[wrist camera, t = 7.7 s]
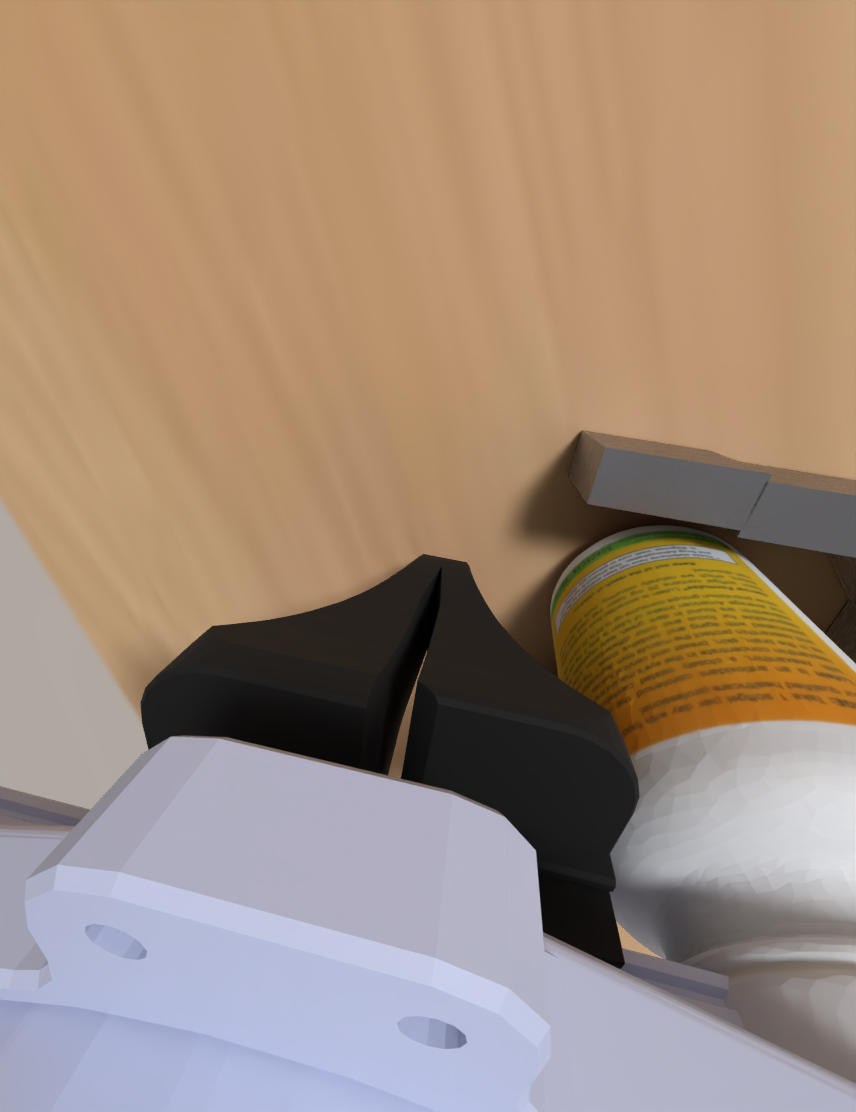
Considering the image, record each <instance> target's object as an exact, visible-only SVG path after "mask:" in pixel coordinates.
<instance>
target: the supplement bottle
mask: <svg viewBox="0 0 856 1112" xmlns="http://www.w3.org/2000/svg"><path fill="white" fill-rule="evenodd" d="M550 618H551V629H552V636H553V644H554V650H555V657H556V664H557V671H558V678H559V679H560V680H562V681H563V682H564V683H566V684H567V685H569V686H570V687H572V688H573V689H575V690H576V691H578V692H580V693H581V694H583V695H584V696H586V697H588V698H589V699H591V700H593V701H594V702H596V703H597V704H599V705H601V706H602V707H604V708H606V709H607V710H609V711H610V712H611V713H612V715H613V718H614V720H615V722H616V724H617V726H618V728H619V731H620V733H621V735H622V737H623V739H624V742H625V744H626V747H627V749H628V752H629V754H630V757H631V760H632V763H633V766H634V769H635V772H636V775H637V778H638V784H639V800H638V803H637V806H636V808H635V811H634V814H633V816H632V817H631V819H630V821H629V822H628V824H627V826H626V827H625V829H624V831H623V833H622V834H621V836H620V838H619V839H618V841H617V843H616V844H615V846H614V848H613V849H612V851H611V853H610V856H611V861H612V865H613V869H614V873H615V877H616V887H615V889H614V891H613V892H610V896H611V901H612V905H613V910H614V914H615V919H616V921H617V922H618V923H619V924H620V925H621V926H622V927H623V928H624V929H625V930H626V931H627V932H628V933H629V934H630V935H631V936H632V937H634V938H635V939H636V940H637V941H638V942H639V943H641V944H642V945H644V946H645V947H646V948H648V949H649V950H651V951H652V952H654V953H655V954H657V955H659V956H660V957H662V958H664V959H665V960H669V961H673V962H677V963H681V964H684V965H688V966H692V967H696V968H700V969H704V970H707V971H711V972H715V973H719V974H723V975H727V976H728V977H729V982H728V987H729V991H728V993H727V994H726V996H725V998H724V1002H725V1005H726V1007H728V1008H731V1009H734V1010H737V1011H738V1013H739V1016H740V1018H741V1020H742V1023H743V1025H744V1028H745V1030H746V1031H748V1032H751V1033H753V1034H755V1035H757V1036H759V1037H761V1038H763V1039H765V1040H767V1041H769V1042H771V1043H773V1044H775V1045H777V1046H779V1047H782V1048H784V1049H786V1050H788V1051H790V1052H792V1053H794V1054H796V1055H798V1056H800V1057H802V1058H804V1059H806V1060H808V1061H810V1062H812V1063H815V1064H817V1065H819V1066H821V1067H823V1068H825V1069H827V1070H829V1071H831V1072H833V1073H835V1074H837V1075H839V1076H841V1077H843V1078H846V1079H848V1080H850V1081H852V1082H854V1083H856V663H855V662H853V661H852V660H851V659H850V658H849V657H848V656H847V655H846V654H845V653H844V652H843V651H842V650H841V649H840V648H839V647H838V646H837V645H836V644H835V643H834V642H833V641H832V640H831V639H830V638H829V637H828V636H826V635H825V634H824V633H823V632H822V631H821V630H820V629H819V628H818V627H817V626H816V625H815V624H814V623H813V622H812V621H811V620H810V619H809V618H808V617H807V616H806V615H805V614H804V613H803V612H802V611H801V610H800V609H799V608H798V607H797V606H795V605H794V604H793V603H792V602H791V601H790V600H789V599H788V598H787V597H786V596H785V595H784V594H783V593H782V592H781V591H780V590H779V589H778V588H777V587H776V586H775V585H774V584H773V583H772V582H771V581H770V580H769V579H768V578H767V577H766V576H765V575H764V574H762V573H761V572H760V571H759V570H758V569H757V568H756V567H755V566H754V565H753V564H752V563H751V562H750V561H749V560H748V559H747V558H746V557H745V556H743V555H742V554H741V553H740V552H739V551H738V550H736V549H735V548H734V547H733V546H731V545H730V544H728V543H727V542H725V541H724V540H722V539H720V538H718V537H716V536H714V535H712V534H709V533H706V532H703V531H700V530H697V529H693V528H687V527H681V526H670V525H655V526H644V527H637V528H633V529H628V530H625V531H622V532H618V533H616V534H613V535H611V536H608V537H606V538H604V539H602V540H600V541H599V542H597V543H595V544H594V545H592V546H591V547H589V548H588V549H586V550H585V551H583V552H582V553H581V554H580V555H578V556H577V557H576V558H575V559H574V560H573V561H572V562H571V563H570V564H569V566H568V567H567V568H566V569H565V571H564V572H563V573H562V575H561V577H560V579H559V581H558V582H557V585H556V587H555V589H554V592H553V596H552V600H551V606H550Z"/></svg>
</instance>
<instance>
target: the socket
mask: <svg viewBox="0 0 856 1112" xmlns="http://www.w3.org/2000/svg"><path fill="white" fill-rule="evenodd" d="M568 477H569V478H570V480H571V481H572V483H573V484H574V485H575V487H576V488H577V490H578V491H579V493H580V494H581V496H582V497H583V499H584V500H585V502H586V503H587V504H590V505H596V506H602V507H607V508H613V509H619V510H625V511H631V512H636V513H642V514H648V515H654V516H660V517H665V518H671V519H677V520H683V521H689V522H694V523H700V524H706V525H712V526H718V527H723V528H725V529H726V530H728V531H729V532H731V533H732V534H734V535H735V536H737V537H740V538H745V539H751V540H757V541H763V542H768V543H774V544H780V545H786V546H791V547H797V548H803V549H809V550H814V551H820V552H826V553H828V555H829V557H830V560H831V562H832V564H833V566H834V568H835V570H836V573H837V575H838V577H839V579H840V581H841V584H842V586H843V588H844V590H845V592H846V594H847V597H848V599H849V601H848V602H847V604H846V605H845V606H844V608H843V609H842V611H841V612H840V614H839V615H838V616H837V618H836V619H835V621H834V622H833V624H832V625H831V626H830V628H829V629H828V631H827V632H826V634H825V635H826V636H828V637H829V638H830V639H831V640H832V641H833V642H834V643H835V644H836V645H837V646H838V647H839V648H840V649H841V650H842V651H843V652H844V653H845V654H846V655H847V656H848V657H849V658H850V659H851V660H852V661H853V662H855V663H856V480H849V479H843V478H837V477H831V476H824V475H818V474H812V473H805V472H799V471H793V470H787V469H780V468H774V467H768V466H762V465H755V464H749V463H743V462H739V461H736V460H734V459H731V458H728V457H726V456H723V455H720V454H718V453H715V452H712V451H708V450H701V449H695V448H689V447H683V446H676V445H670V444H664V443H657V442H651V441H645V440H638V439H632V438H626V437H619V436H613V435H607V434H601V433H594V432H588V431H582V430H581V434H580V437H579V441H578V444H577V448H576V451H575V455H574V458H573V461H572V465H571V468H570V472H569V475H568Z"/></svg>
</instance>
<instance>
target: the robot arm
mask: <svg viewBox="0 0 856 1112" xmlns="http://www.w3.org/2000/svg"><path fill="white" fill-rule="evenodd" d="M427 648H428V649H427ZM426 651H427V655H426V658H425V661H424V664H423V667H422V670H421V673H420V676H419V678H418V681H417V687H416V693H415V699H414V705H413V711H412V717H411V723H410V729H409V735H408V741H407V747H406V753H405V759H404V765H403V771H402V777H401V779H400V778H396V777H391V776H388V773H389V768H390V764H391V760H392V756H393V752H394V748H395V744H396V740H397V736H398V732H399V728H400V725H401V722H402V719H403V715H404V712H405V709H406V707H407V704H408V701H409V698H410V695H411V693H412V690H413V687H414V684H415V682H416V679H417V676H418V673H419V671H420V668H421V665H422V662H423V659H424V657H425V654H426ZM141 714H142V724H143V728H144V732H145V737H146V740H147V745H148V749H149V750H148V751H146V752H144V753H143V754H141V756H140V757H139V758H138V759H137V760H136V761H135V762H134V763H133V764H132V765H131V766H130V767H129V769H128V770H127V771H126V772H125V773H124V774H123V775H122V776H121V777H120V778H119V779H118V780H117V782H116V783H115V784H114V785H113V786H112V787H111V788H110V789H109V790H108V791H107V792H106V794H105V795H104V796H103V797H102V798H101V799H100V800H99V801H98V802H97V803H96V804H95V805H94V806H93V808H92V809H91V810H89V809H85V808H82V807H78V806H74V805H70V804H66V803H62V802H59V801H55V800H51V799H47V798H43V797H39V796H35V795H31V794H28V793H24V792H20V791H16V790H12V789H9V788H5V787H1V786H0V1112H856V1083H854V1082H852V1081H850V1080H848V1079H846V1078H843V1077H841V1076H839V1075H837V1074H835V1073H833V1072H831V1071H829V1070H827V1069H825V1068H823V1067H821V1066H819V1065H817V1064H815V1063H812V1062H810V1061H808V1060H806V1059H804V1058H802V1057H800V1056H798V1055H796V1054H794V1053H792V1052H790V1051H788V1050H786V1049H784V1048H782V1047H779V1046H777V1045H775V1044H773V1043H771V1042H769V1041H767V1040H765V1039H763V1038H761V1037H759V1036H757V1035H755V1034H753V1033H751V1032H748V1031H746V1030H745V1028H744V1025H743V1023H742V1020H741V1018H740V1016H739V1013H738V1011H737V1010H734V1009H731V1008H728V1007H726V1005H725V1002H724V998H725V996H726V994H727V993H728V991H729V987H728V982H729V977H728V976H727V975H723V974H719V973H715V972H711V971H707V970H704V969H700V968H696V967H692V966H688V965H684V964H681V963H677V962H673V961H669V960H665V959H661V958H658V957H654V956H650V955H646V954H642V953H638V952H635V951H631V950H627V949H623V948H622V947H621V942H620V937H619V933H618V928H617V924H616V919H615V914H614V910H613V905H612V901H611V896H610V892H613V891H614V889H615V887H616V877H615V873H614V869H613V865H612V861H611V856H610V853H611V851H612V849H613V848H614V846H615V844H616V843H617V841H618V839H619V838H620V836H621V834H622V833H623V831H624V829H625V827H626V826H627V824H628V822H629V821H630V819H631V817H632V816H633V814H634V811H635V808H636V806H637V803H638V800H639V784H638V778H637V775H636V772H635V769H634V766H633V763H632V760H631V757H630V754H629V752H628V749H627V747H626V744H625V742H624V739H623V737H622V735H621V733H620V731H619V728H618V726H617V724H616V722H615V720H614V718H613V715H612V713H611V712H610V711H609V710H607V709H606V708H604V707H602V706H601V705H599V704H597V703H596V702H594V701H593V700H591V699H589V698H588V697H586V696H584V695H583V694H581V693H580V692H578V691H576V690H575V689H573V688H572V687H570V686H569V685H567V684H566V683H564V682H563V681H562V680H560V679H559V678H558V677H556V676H555V675H554V674H552V673H551V672H550V671H548V670H547V669H546V668H544V667H543V666H542V665H541V664H540V663H538V662H537V661H536V660H535V659H534V658H533V657H532V656H530V655H529V654H528V653H527V652H526V651H525V650H524V649H523V648H522V647H521V646H520V645H519V644H518V643H517V642H516V641H515V640H514V639H513V638H512V637H511V636H510V635H509V634H508V633H507V631H506V630H505V629H504V628H503V627H502V626H501V624H500V623H499V622H498V621H497V619H496V618H495V616H494V615H493V613H492V612H491V610H490V609H489V607H488V605H487V604H486V602H485V600H484V599H483V597H482V595H481V593H480V591H479V589H478V587H477V585H476V583H475V581H474V578H473V576H472V573H471V570H470V567H469V565H468V564H467V562H462V561H457V560H452V559H446V558H441V557H436V556H431V555H426V554H423V555H421V556H420V557H418V558H417V559H415V560H414V561H413V562H411V563H410V564H409V565H407V566H406V567H405V568H403V569H402V570H401V571H399V572H398V573H396V574H395V575H393V576H392V577H390V578H389V579H387V580H385V581H384V582H382V583H380V584H378V585H377V586H375V587H373V588H371V589H369V590H367V591H365V592H363V593H361V594H359V595H356V596H354V597H352V598H349V599H347V600H344V601H342V602H339V603H336V604H332V605H329V606H326V607H323V608H319V609H316V610H313V611H309V612H305V613H301V614H297V615H292V616H287V617H282V618H276V619H271V620H264V621H257V622H248V623H238V624H229V625H218V626H212V627H211V628H210V629H208V630H207V631H206V632H205V633H204V634H202V635H201V636H200V637H199V638H198V639H197V640H195V641H194V642H193V643H192V644H191V645H190V646H189V647H188V648H187V649H185V650H184V651H183V652H182V653H181V654H180V655H179V656H178V657H177V658H176V659H174V660H173V661H172V662H171V663H170V664H169V665H168V666H167V667H166V668H165V669H163V670H162V671H161V672H160V673H159V674H158V675H157V676H156V677H155V678H154V679H153V680H152V681H151V682H150V683H149V684H148V686H147V687H146V688H145V691H144V694H143V697H142V700H141Z"/></svg>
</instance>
